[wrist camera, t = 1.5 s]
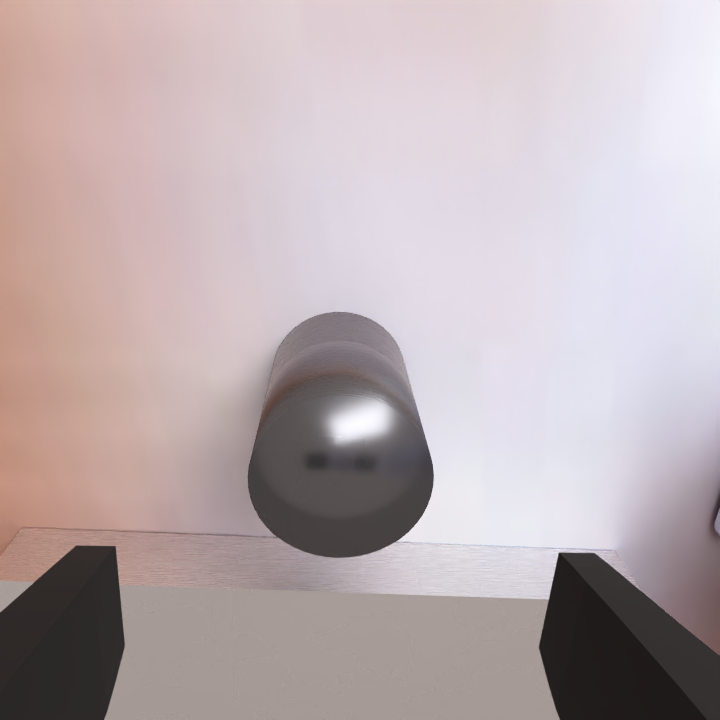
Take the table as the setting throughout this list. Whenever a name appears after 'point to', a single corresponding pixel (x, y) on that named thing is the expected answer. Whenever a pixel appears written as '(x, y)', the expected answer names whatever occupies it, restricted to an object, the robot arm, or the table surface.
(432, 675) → the plate
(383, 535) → the cylinder
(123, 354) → the table surface
